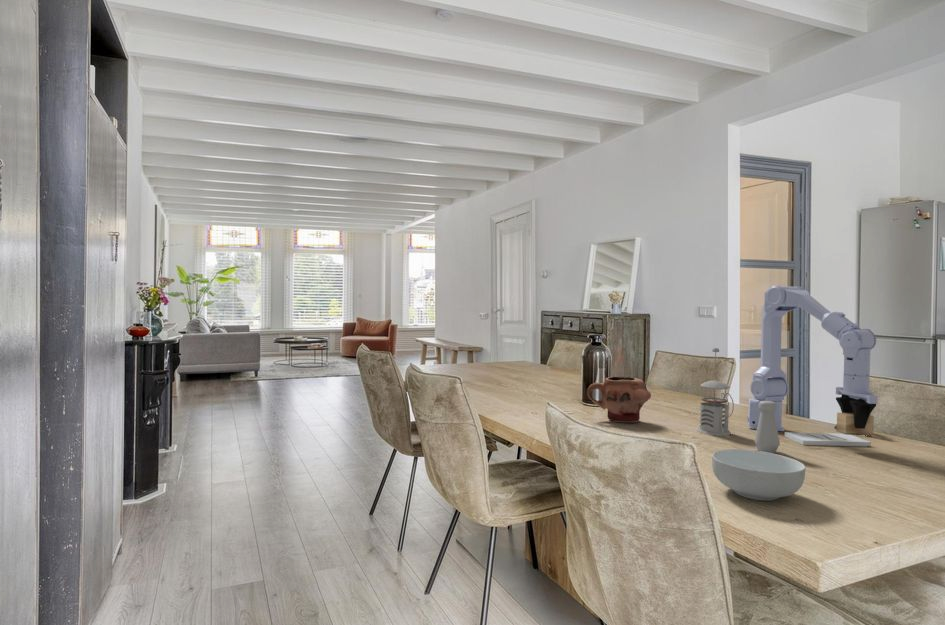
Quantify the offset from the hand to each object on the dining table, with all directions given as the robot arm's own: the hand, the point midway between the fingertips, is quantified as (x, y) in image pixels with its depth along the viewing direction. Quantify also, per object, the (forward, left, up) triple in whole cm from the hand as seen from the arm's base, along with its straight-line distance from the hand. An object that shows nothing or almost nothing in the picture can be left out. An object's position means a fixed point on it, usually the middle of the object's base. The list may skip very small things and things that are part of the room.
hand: (854, 426), depth 154 cm
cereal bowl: (-26, -51, -7) cm, 58 cm away
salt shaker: (-21, -12, -7) cm, 25 cm away
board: (-5, +8, -6) cm, 12 cm away
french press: (-33, +6, -7) cm, 35 cm away
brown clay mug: (-62, +11, -7) cm, 64 cm away
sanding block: (0, 0, -2) cm, 2 cm away
